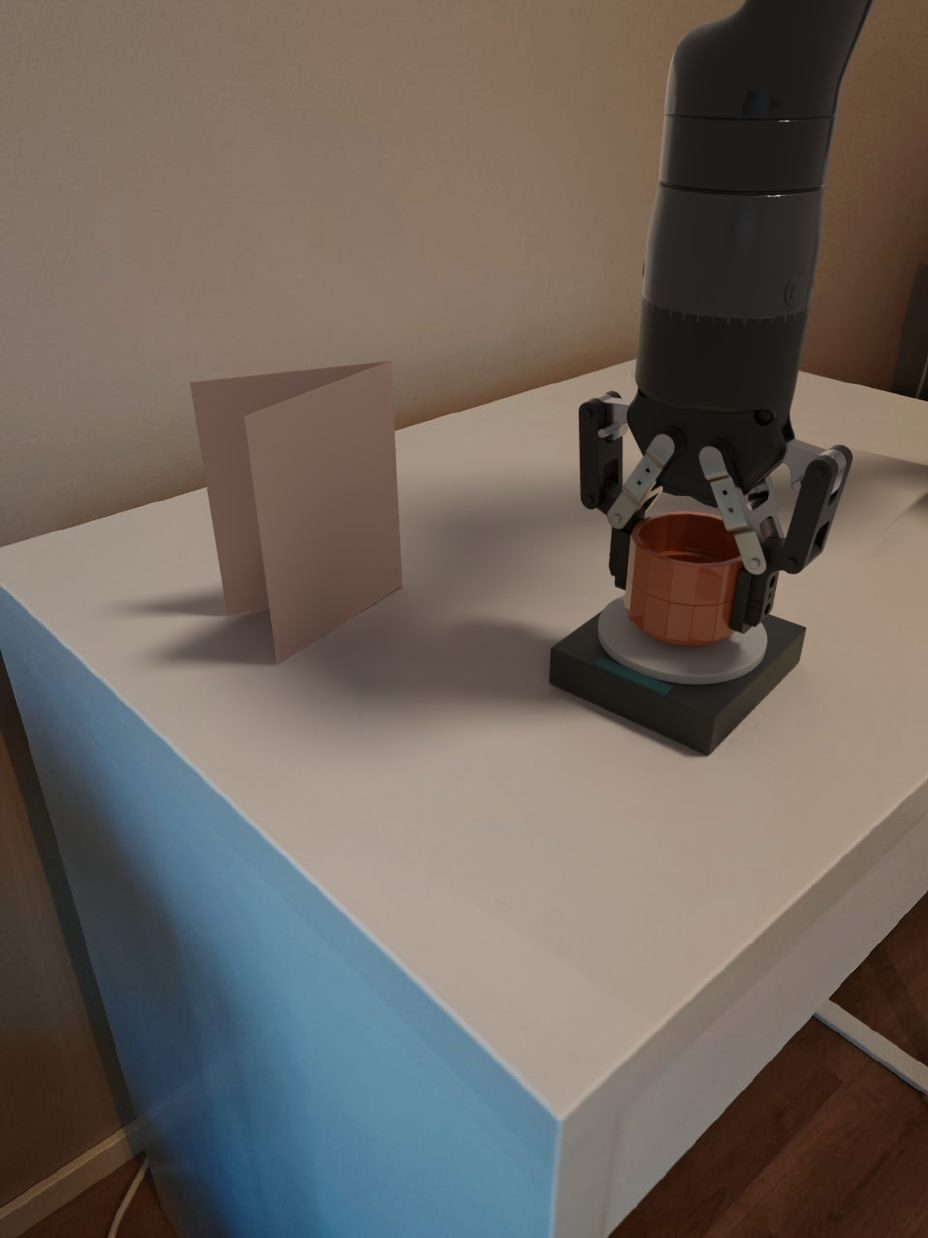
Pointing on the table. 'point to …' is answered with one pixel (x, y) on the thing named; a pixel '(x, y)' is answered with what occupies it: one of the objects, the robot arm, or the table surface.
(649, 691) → the scale
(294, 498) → the greeting card
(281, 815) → the table surface
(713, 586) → the orange cup
